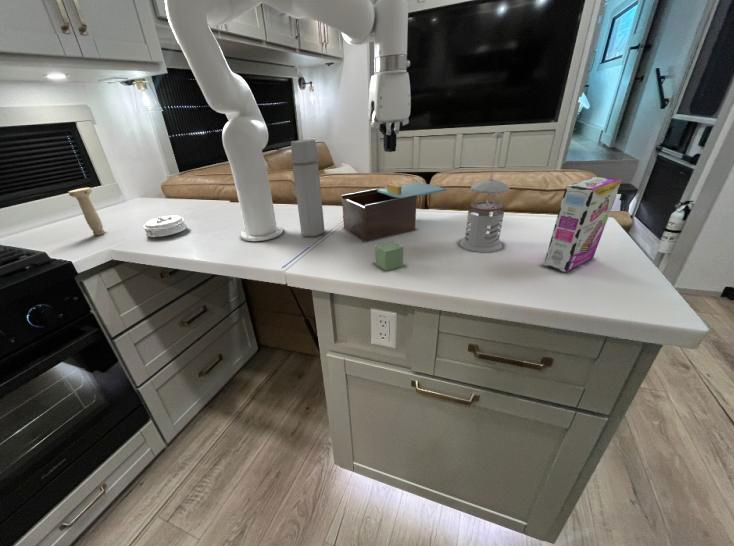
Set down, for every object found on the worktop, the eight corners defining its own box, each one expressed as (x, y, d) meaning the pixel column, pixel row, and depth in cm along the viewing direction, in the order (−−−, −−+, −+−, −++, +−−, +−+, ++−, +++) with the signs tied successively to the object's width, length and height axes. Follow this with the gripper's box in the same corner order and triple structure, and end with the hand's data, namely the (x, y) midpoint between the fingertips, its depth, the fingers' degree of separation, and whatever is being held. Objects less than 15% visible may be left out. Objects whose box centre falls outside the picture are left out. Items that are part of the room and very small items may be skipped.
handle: (86, 237, 113) (64, 192, 105) (102, 230, 118) (83, 187, 110) (96, 237, 111) (75, 192, 103) (112, 231, 116) (93, 187, 109)
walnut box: (343, 227, 100) (341, 195, 95) (388, 218, 105) (388, 186, 100) (366, 241, 89) (365, 205, 84) (415, 230, 94) (417, 195, 89)
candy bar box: (567, 274, 65) (594, 189, 57) (542, 266, 69) (563, 185, 61) (595, 258, 70) (623, 178, 62) (570, 252, 74) (594, 175, 66)
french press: (452, 246, 81) (465, 134, 69) (472, 233, 89) (487, 128, 76) (493, 255, 75) (515, 134, 63) (511, 239, 82) (534, 128, 70)
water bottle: (323, 237, 94) (313, 141, 81) (297, 237, 96) (283, 143, 83) (330, 227, 102) (322, 137, 89) (305, 227, 103) (294, 139, 91)
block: (375, 263, 76) (374, 245, 74) (391, 259, 78) (392, 240, 75) (385, 271, 73) (385, 251, 70) (403, 266, 74) (403, 247, 72)
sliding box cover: (377, 191, 99) (377, 182, 97) (418, 183, 104) (419, 175, 102) (401, 199, 89) (401, 190, 87) (446, 190, 93) (447, 181, 92)
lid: (194, 230, 110) (190, 215, 107) (157, 242, 102) (151, 226, 99) (176, 224, 117) (171, 210, 115) (140, 235, 109) (134, 220, 107)
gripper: (407, 67, 83) (404, 147, 93) (355, 70, 78) (358, 153, 88) (426, 63, 77) (421, 148, 87) (371, 66, 72) (372, 156, 82)
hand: (389, 151), depth 87 cm, fingers closed
